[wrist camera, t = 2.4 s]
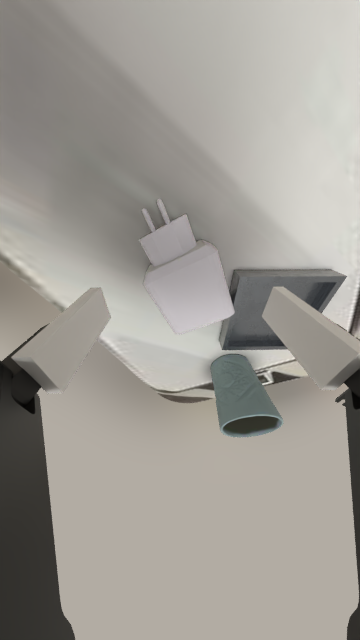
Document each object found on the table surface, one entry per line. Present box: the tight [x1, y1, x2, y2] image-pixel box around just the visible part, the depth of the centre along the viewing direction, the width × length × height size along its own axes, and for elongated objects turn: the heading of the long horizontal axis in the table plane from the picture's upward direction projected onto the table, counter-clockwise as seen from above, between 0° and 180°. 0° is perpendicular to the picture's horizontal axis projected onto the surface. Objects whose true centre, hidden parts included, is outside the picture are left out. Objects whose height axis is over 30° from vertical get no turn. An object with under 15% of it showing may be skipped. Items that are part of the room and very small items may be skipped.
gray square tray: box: [219, 270, 347, 350], centre depth 24 cm, size 14×14×2 cm
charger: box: [139, 199, 235, 334], centre depth 19 cm, size 5×9×15 cm
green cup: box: [211, 354, 283, 437], centre depth 29 cm, size 10×10×12 cm
